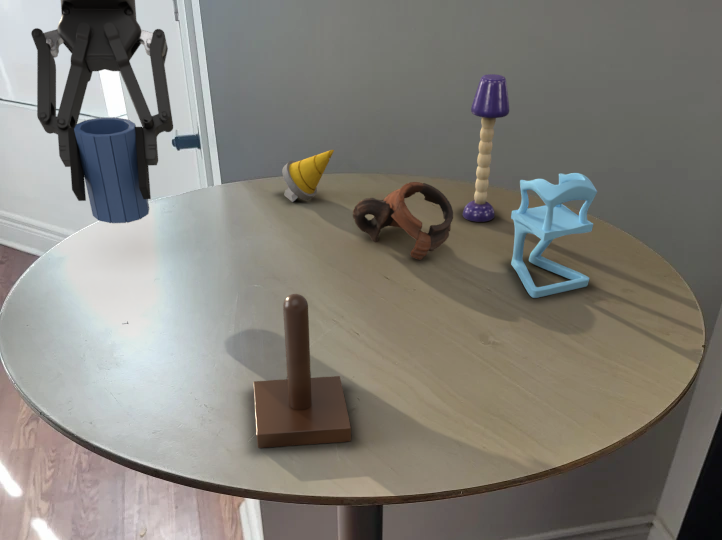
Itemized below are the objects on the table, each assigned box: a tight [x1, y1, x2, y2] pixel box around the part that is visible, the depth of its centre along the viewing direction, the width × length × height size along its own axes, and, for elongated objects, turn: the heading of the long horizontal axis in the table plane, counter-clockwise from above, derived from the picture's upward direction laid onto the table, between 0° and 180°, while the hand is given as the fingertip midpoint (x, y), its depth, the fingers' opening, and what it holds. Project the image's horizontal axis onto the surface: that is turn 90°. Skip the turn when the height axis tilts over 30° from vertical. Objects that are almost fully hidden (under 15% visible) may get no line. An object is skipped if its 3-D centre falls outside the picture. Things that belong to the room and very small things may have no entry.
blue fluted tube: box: [74, 116, 150, 224], centre depth 83 cm, size 6×6×9 cm
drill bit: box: [281, 149, 335, 203], centre depth 104 cm, size 5×5×10 cm
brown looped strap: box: [352, 181, 454, 261], centre depth 94 cm, size 12×10×8 cm
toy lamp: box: [462, 73, 510, 223], centre depth 98 cm, size 5×5×17 cm
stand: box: [252, 293, 352, 449], centre depth 66 cm, size 8×8×12 cm
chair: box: [510, 172, 598, 299], centre depth 87 cm, size 8×8×12 cm
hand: (112, 194), depth 81 cm, fingers closed on blue fluted tube, 6 cm apart
